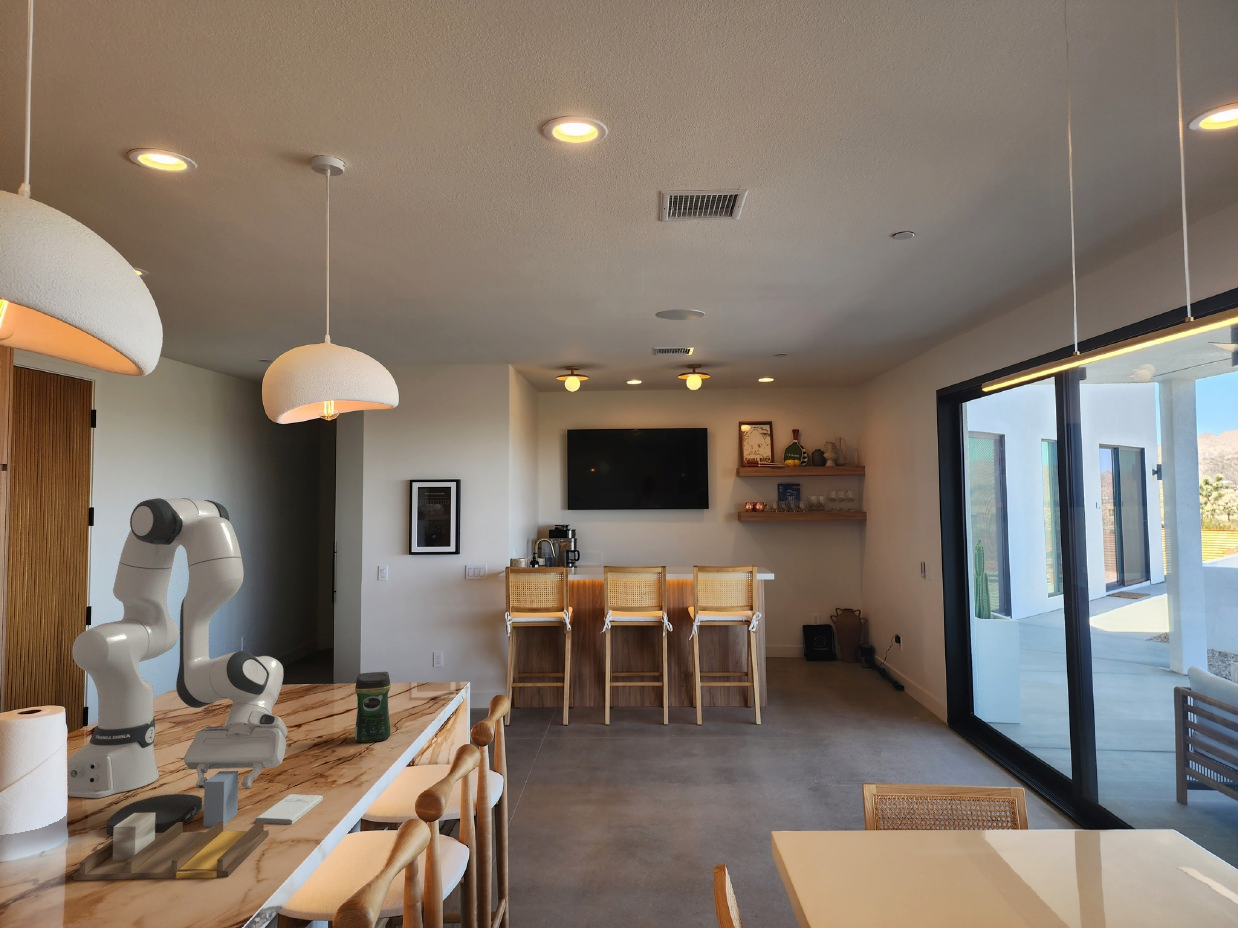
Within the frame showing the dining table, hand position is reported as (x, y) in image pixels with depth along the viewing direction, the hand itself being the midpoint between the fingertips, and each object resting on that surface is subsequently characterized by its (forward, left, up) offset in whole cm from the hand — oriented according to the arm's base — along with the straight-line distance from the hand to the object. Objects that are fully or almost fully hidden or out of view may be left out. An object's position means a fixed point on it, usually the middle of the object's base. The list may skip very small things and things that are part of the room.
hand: (223, 786), depth 152 cm
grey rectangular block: (0, 0, -7) cm, 7 cm away
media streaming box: (-14, +1, -7) cm, 16 cm away
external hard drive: (+13, +4, -7) cm, 15 cm away
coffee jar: (+16, +52, -7) cm, 55 cm away
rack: (0, -16, -7) cm, 18 cm away
